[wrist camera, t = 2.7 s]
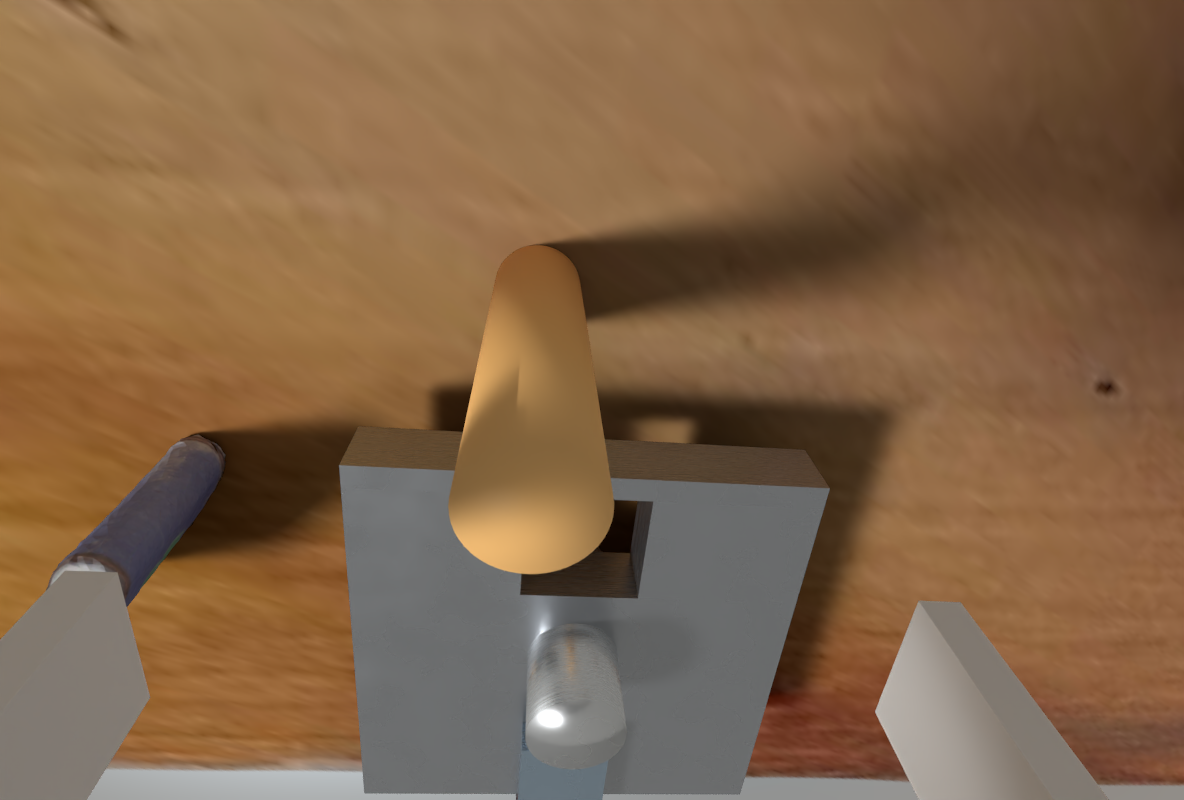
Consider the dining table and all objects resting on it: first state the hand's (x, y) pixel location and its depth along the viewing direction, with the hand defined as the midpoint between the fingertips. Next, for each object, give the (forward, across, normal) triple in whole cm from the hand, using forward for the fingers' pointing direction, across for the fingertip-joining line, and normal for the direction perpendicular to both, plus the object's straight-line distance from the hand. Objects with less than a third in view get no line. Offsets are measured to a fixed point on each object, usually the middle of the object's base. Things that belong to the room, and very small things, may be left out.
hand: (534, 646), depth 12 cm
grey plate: (+20, +2, -16) cm, 26 cm away
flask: (+20, -17, -12) cm, 29 cm away
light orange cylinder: (+20, 0, 0) cm, 20 cm away
